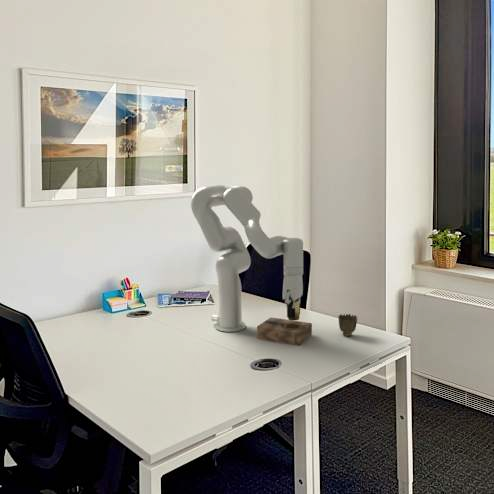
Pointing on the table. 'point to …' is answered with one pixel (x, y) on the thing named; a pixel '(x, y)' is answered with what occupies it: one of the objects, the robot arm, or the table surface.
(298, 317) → the cylinder
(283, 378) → the table surface
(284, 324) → the jig
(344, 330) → the cup
